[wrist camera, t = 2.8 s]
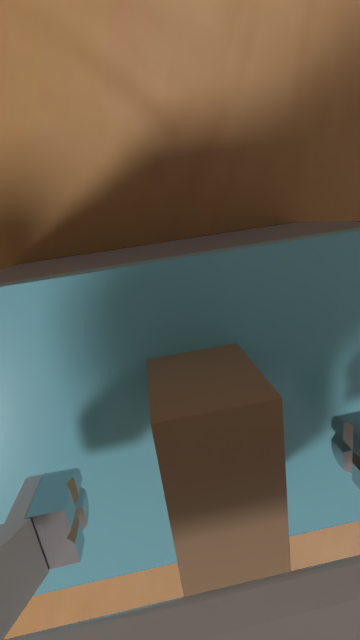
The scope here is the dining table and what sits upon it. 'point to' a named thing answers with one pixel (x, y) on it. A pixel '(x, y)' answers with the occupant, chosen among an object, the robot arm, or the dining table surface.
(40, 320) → the teal lid
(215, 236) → the storage box
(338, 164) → the dining table surface
